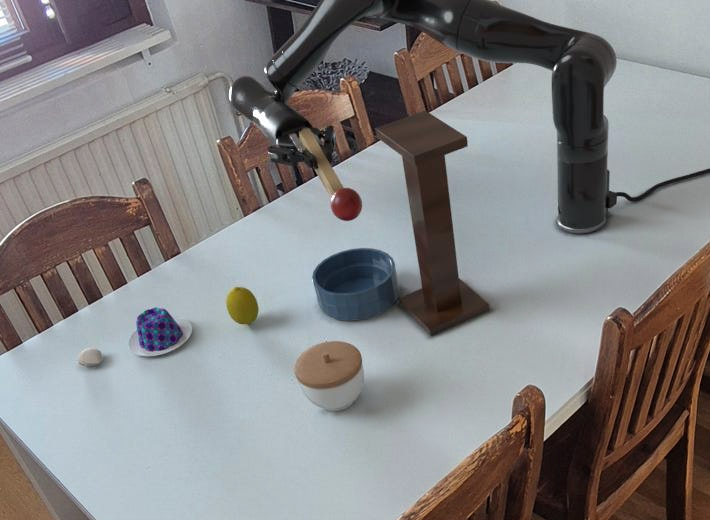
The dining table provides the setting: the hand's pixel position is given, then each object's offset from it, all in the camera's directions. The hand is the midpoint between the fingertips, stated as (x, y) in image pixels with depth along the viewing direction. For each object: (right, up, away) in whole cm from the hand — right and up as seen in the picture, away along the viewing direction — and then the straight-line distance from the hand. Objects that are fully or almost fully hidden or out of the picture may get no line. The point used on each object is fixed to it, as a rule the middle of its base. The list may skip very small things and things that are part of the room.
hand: (322, 161), depth 140 cm
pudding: (-31, -29, +10) cm, 44 cm away
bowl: (+5, -21, +11) cm, 25 cm away
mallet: (+1, -3, +2) cm, 4 cm away
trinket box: (+4, -42, -8) cm, 43 cm away
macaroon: (-43, -34, +8) cm, 55 cm away
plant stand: (+21, -24, +6) cm, 33 cm away
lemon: (-15, -26, +10) cm, 32 cm away
